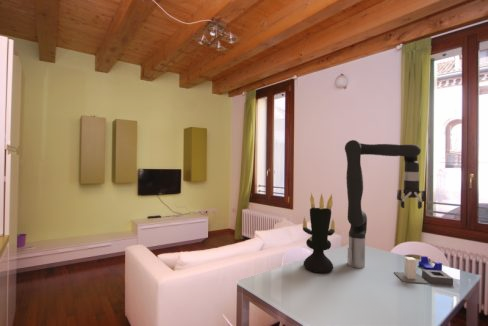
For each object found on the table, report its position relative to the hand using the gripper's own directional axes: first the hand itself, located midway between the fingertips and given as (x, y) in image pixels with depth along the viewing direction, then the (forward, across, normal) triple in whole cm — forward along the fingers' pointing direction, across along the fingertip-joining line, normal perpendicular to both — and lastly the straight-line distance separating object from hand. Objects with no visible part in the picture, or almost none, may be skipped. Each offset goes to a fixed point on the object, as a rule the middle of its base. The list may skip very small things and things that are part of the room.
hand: (411, 208), depth 153 cm
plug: (+36, -4, -10) cm, 37 cm away
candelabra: (+36, -51, -8) cm, 63 cm away
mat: (+36, -4, -10) cm, 38 cm away
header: (+36, +9, -10) cm, 38 cm away
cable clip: (+37, +13, +6) cm, 39 cm away
